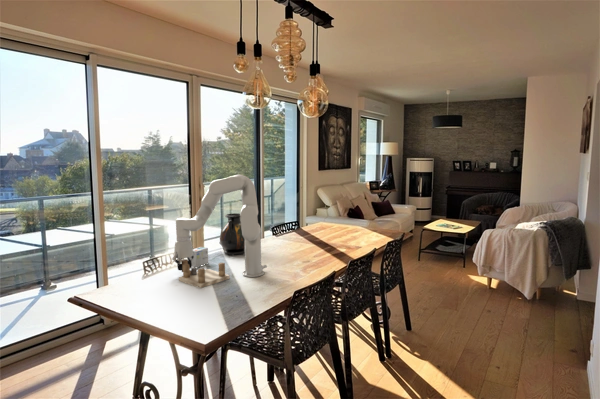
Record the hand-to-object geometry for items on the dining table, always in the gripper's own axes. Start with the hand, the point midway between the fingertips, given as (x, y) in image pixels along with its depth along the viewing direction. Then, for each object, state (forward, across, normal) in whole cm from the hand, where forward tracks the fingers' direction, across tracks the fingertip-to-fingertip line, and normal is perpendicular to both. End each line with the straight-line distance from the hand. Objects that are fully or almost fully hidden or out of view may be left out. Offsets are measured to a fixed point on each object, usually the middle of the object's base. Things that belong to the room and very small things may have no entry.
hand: (184, 268), depth 228 cm
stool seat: (+4, -2, +16) cm, 17 cm away
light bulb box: (+4, -18, -11) cm, 22 cm away
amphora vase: (+4, -53, -16) cm, 56 cm away
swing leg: (+2, 0, +4) cm, 5 cm away
